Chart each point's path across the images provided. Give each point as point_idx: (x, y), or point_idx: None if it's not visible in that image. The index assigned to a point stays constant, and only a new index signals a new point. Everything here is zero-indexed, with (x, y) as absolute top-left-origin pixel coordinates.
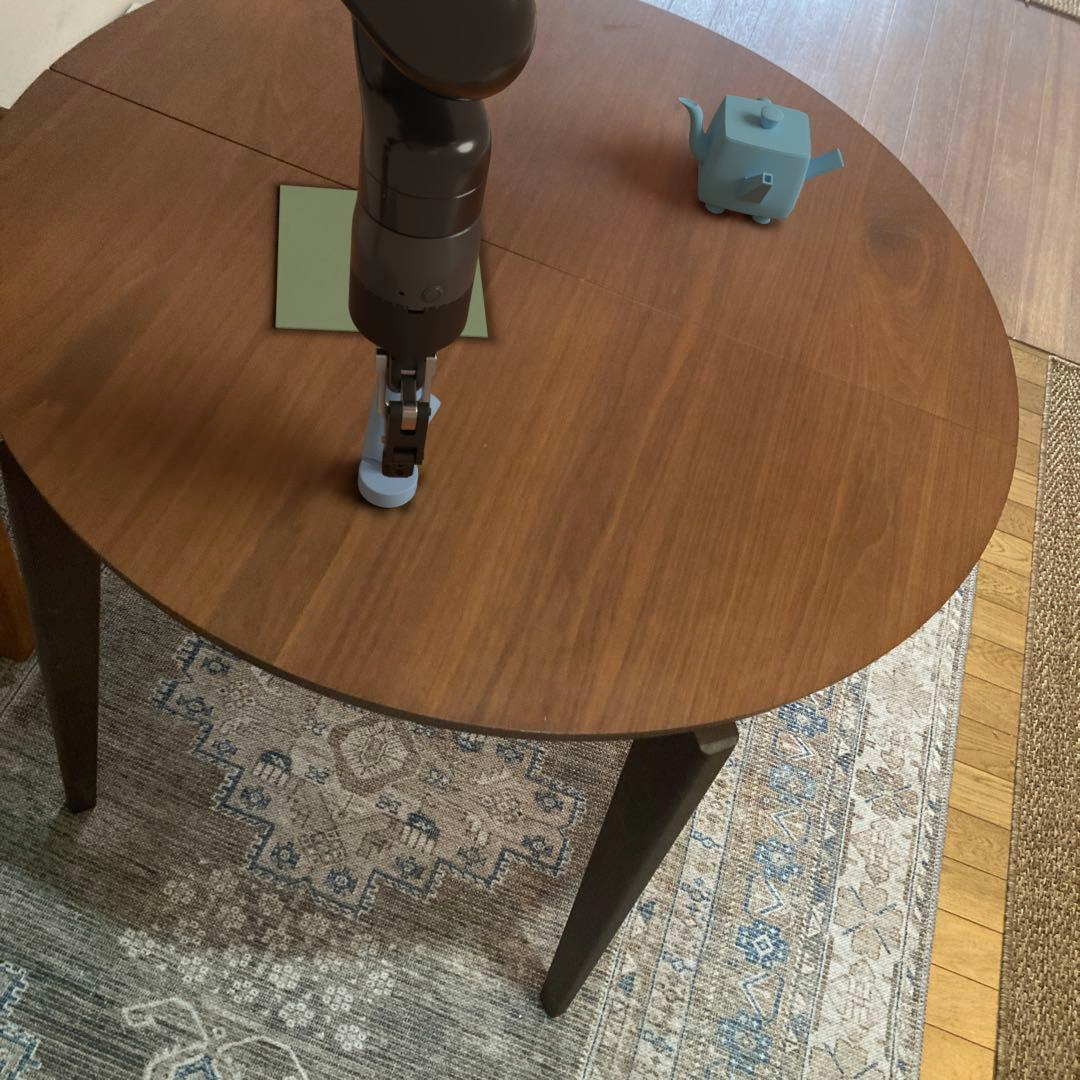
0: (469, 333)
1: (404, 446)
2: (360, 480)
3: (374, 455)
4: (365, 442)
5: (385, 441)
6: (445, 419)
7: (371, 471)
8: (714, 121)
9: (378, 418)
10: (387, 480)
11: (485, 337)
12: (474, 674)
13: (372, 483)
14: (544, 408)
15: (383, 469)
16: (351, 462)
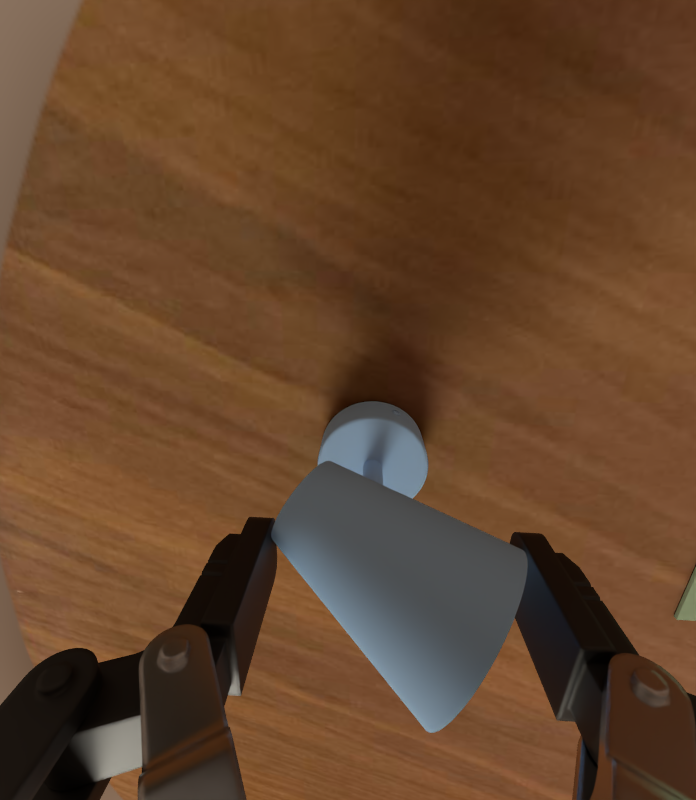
0: (691, 596)
1: (69, 765)
2: (356, 415)
3: (285, 516)
4: (336, 494)
5: (47, 739)
6: (506, 540)
7: (370, 439)
8: None
9: (373, 564)
10: (349, 464)
11: (675, 614)
12: (57, 527)
13: (342, 439)
14: (508, 661)
15: (243, 532)
16: (427, 390)
